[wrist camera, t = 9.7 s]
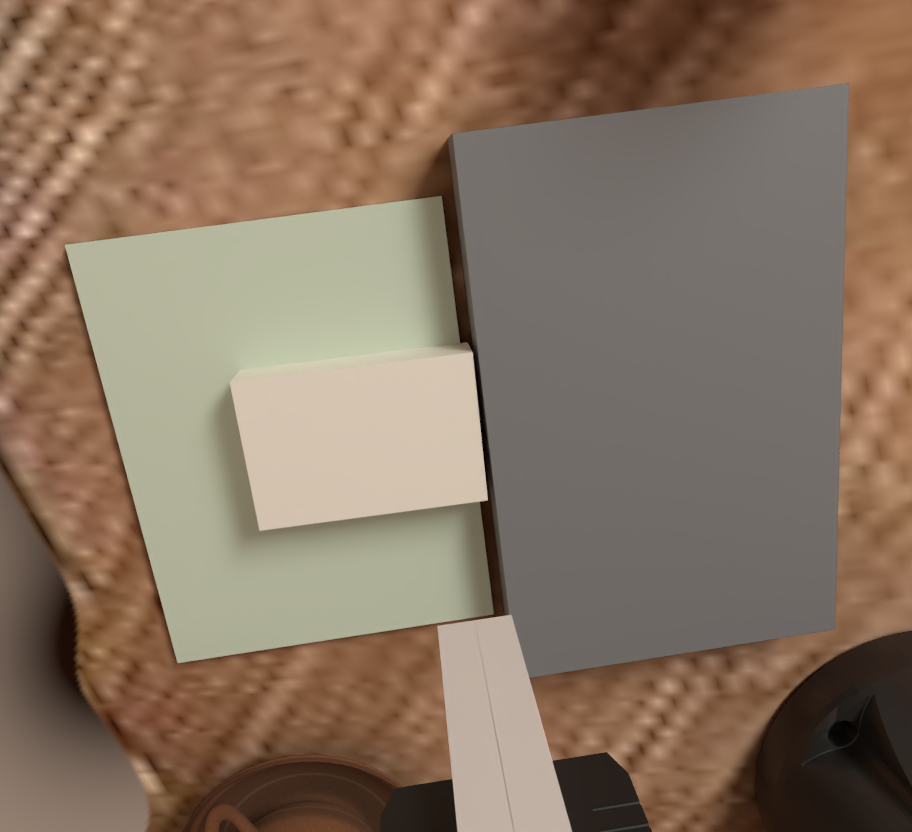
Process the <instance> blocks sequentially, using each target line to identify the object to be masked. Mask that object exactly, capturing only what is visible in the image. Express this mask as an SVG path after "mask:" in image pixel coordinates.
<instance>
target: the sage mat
mask: <svg viewBox="0 0 912 832" xmlns="http://www.w3.org/2000/svg"><path fill="white" fill-rule="evenodd" d="M65 248H66V251H67V255H68V259H69V262H70V266H71V270H72V274H73V277H74V281H75V285H76V288H77V292H78V296H79V300H80V303H81V307H82V311H83V314H84V318H85V322H86V325H87V329H88V333H89V337H90V340H91V344H92V348H93V351H94V355H95V359H96V363H97V366H98V370H99V374H100V377H101V381H102V385H103V389H104V392H105V396H106V400H107V403H108V407H109V411H110V414H111V418H112V422H113V426H114V429H115V433H116V437H117V440H118V444H119V448H120V452H121V455H122V459H123V463H124V466H125V470H126V474H127V477H128V481H129V485H130V489H131V492H132V496H133V500H134V503H135V507H136V511H137V515H138V518H139V522H140V526H141V529H142V533H143V537H144V541H145V544H146V548H147V552H148V555H149V559H150V563H151V566H152V570H153V574H154V578H155V581H156V585H157V589H158V592H159V596H160V600H161V604H162V607H163V611H164V615H165V618H166V622H167V626H168V629H169V633H170V637H171V641H172V644H173V648H174V652H175V655H176V659H177V663H182V662H189V661H195V660H202V659H208V658H215V657H221V656H228V655H234V654H241V653H247V652H254V651H260V650H267V649H273V648H279V647H286V646H292V645H299V644H305V643H312V642H318V641H325V640H331V639H338V638H344V637H351V636H357V635H364V634H370V633H377V632H383V631H389V630H396V629H402V628H409V627H415V626H422V625H428V624H435V623H441V622H448V621H454V620H461V619H467V618H474V617H480V616H487V615H493V614H494V611H493V603H492V595H491V587H490V579H489V571H488V563H487V555H486V547H485V539H484V531H483V523H482V515H481V507H480V502H473V503H465V504H458V505H450V506H443V507H435V508H427V509H420V510H412V511H405V512H397V513H390V514H382V515H375V516H367V517H360V518H352V519H345V520H337V521H329V522H322V523H314V524H307V525H299V526H292V527H284V528H277V529H269V530H262V531H259V526H258V521H257V516H256V511H255V506H254V501H253V496H252V491H251V486H250V481H249V476H248V471H247V466H246V461H245V456H244V451H243V446H242V442H241V437H240V432H239V427H238V422H237V417H236V412H235V407H234V402H233V397H232V392H231V387H230V381H231V380H232V379H233V378H234V377H235V375H236V374H237V373H238V372H239V371H240V370H245V369H253V368H261V367H269V366H277V365H286V364H294V363H302V362H310V361H318V360H326V359H335V358H343V357H351V356H359V355H367V354H375V353H384V352H392V351H400V350H408V349H416V348H424V347H432V346H441V345H449V344H457V343H460V339H459V331H458V323H457V315H456V307H455V299H454V291H453V283H452V275H451V267H450V259H449V251H448V243H447V235H446V227H445V219H444V211H443V203H442V196H436V197H429V198H421V199H414V200H406V201H398V202H391V203H383V204H375V205H368V206H360V207H352V208H345V209H337V210H329V211H322V212H314V213H306V214H299V215H291V216H283V217H276V218H268V219H260V220H253V221H245V222H237V223H230V224H222V225H214V226H207V227H199V228H191V229H184V230H176V231H168V232H161V233H153V234H145V235H138V236H130V237H122V238H115V239H107V240H99V241H92V242H84V243H76V244H69V245H65Z"/></svg>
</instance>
